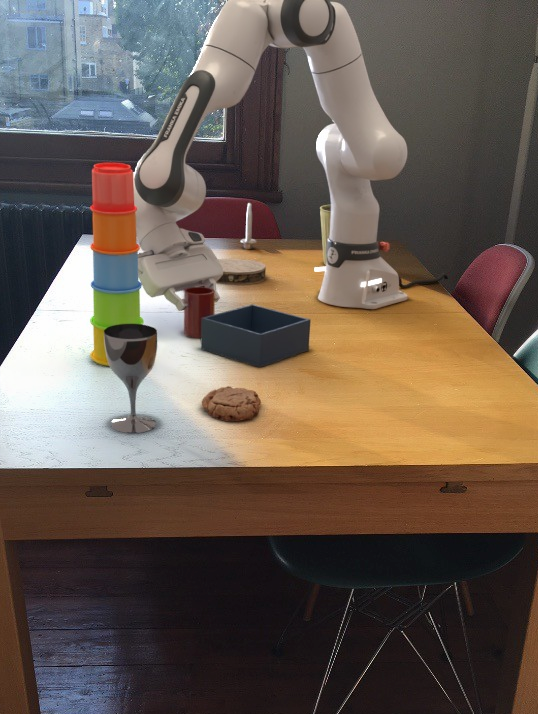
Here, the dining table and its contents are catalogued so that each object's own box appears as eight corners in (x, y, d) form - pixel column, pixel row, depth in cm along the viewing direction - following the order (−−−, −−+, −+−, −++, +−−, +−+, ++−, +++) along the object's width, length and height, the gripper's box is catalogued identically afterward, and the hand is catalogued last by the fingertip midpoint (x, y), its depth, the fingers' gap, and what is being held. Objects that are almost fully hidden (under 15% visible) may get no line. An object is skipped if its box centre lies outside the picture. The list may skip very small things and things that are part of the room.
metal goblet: (109, 414, 141) (105, 323, 134) (159, 414, 142) (157, 323, 135) (106, 434, 134) (101, 338, 127) (158, 434, 135) (156, 339, 128)
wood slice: (276, 276, 230) (277, 264, 228) (243, 287, 218) (244, 275, 216) (226, 267, 237) (226, 255, 236) (191, 277, 225) (191, 265, 224)
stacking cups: (154, 354, 169) (150, 162, 153) (130, 370, 160) (124, 169, 144) (106, 347, 172) (97, 158, 155) (80, 362, 163) (68, 164, 147)
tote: (251, 333, 183) (252, 304, 180) (308, 350, 175) (310, 319, 172) (201, 349, 173) (201, 317, 170) (259, 367, 164) (261, 334, 161)
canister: (203, 328, 186) (203, 285, 182) (219, 335, 181) (220, 292, 177) (178, 332, 183) (178, 289, 178) (194, 340, 178) (194, 295, 174)
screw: (254, 250, 257) (238, 249, 258) (257, 247, 262) (241, 246, 262) (256, 204, 251) (239, 203, 252) (259, 201, 255) (242, 200, 256)
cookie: (216, 425, 139) (217, 407, 137) (193, 402, 147) (193, 385, 146) (273, 418, 143) (274, 400, 141) (248, 395, 151) (248, 379, 150)
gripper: (135, 245, 170) (171, 305, 170) (207, 232, 184) (241, 288, 184) (121, 264, 175) (155, 322, 174) (192, 250, 189) (224, 304, 188)
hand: (200, 304), depth 179 cm, fingers open, 8 cm apart
